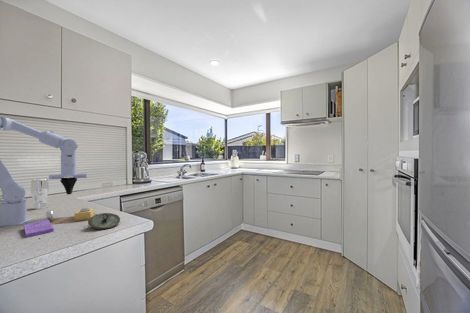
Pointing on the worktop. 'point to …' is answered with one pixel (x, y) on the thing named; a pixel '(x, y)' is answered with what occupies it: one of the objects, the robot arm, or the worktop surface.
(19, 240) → the worktop surface
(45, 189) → the beer glass
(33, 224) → the sponges
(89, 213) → the collar
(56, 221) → the stand board
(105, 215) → the lid
